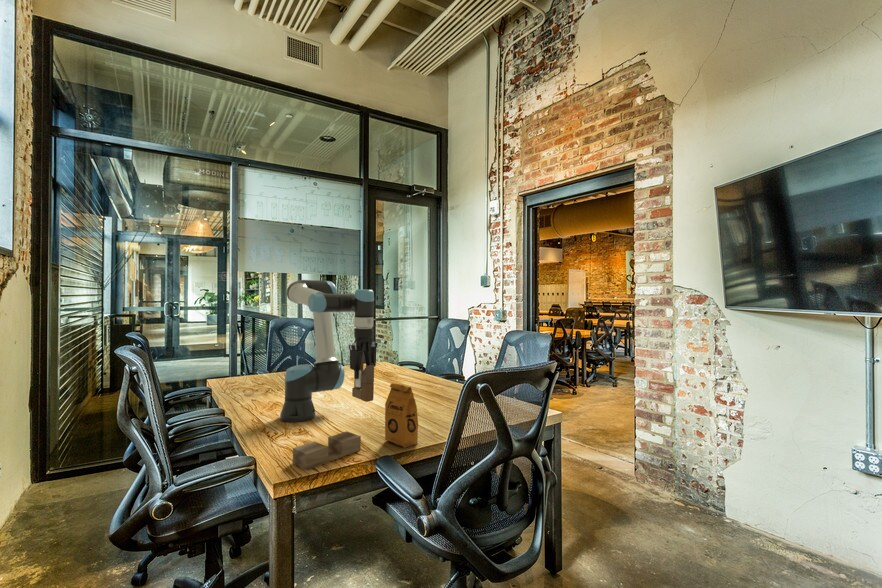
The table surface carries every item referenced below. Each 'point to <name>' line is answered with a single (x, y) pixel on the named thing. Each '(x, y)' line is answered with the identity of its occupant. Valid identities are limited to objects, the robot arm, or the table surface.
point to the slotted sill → (326, 450)
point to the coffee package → (401, 416)
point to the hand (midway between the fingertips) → (362, 385)
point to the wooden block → (365, 383)
